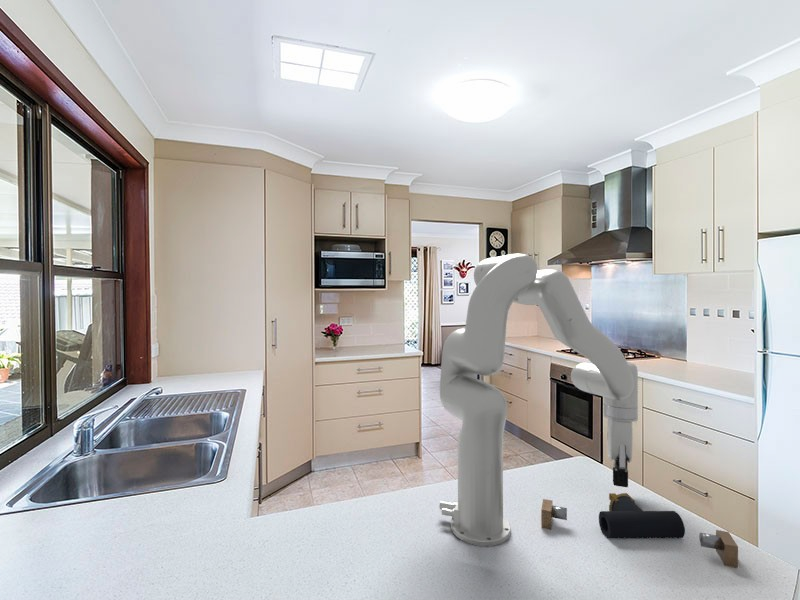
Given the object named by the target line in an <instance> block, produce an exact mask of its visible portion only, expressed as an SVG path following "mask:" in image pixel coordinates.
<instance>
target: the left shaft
mask: <svg viewBox="0 0 800 600" xmlns="http://www.w3.org/2000/svg"><path fill="white" fill-rule="evenodd" d="M553 502H554V501H553V500H551V499H545V498H543V499H542V504H541V509H540V510H541V513H540V514H541V519H540V520H541V521H540V522H541V524H540V525H541V529H544V530H549V531H551V530H552V529H553V528H552V527H553V519H558V520H562V521H567V519H568V508H567V507H564V506H557V505H553Z"/></svg>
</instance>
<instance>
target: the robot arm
mask: <svg viewBox="0 0 800 600" xmlns="http://www.w3.org/2000/svg"><path fill="white" fill-rule="evenodd" d="M473 280H474V283H475V285H476V286H475V288H474V290H473V292H472V293H471V296H470V297H469V301H468V305H467V313H466V320H465V327H463V328H462V327H461V328H458V329H456V330H454V331H452V332H451V333H450V334H449V335H448V336H447V338H446V340H445V341H444V344H443V348H442V353H441V362H440V363H441V365H440V366H441V367H440V379H439V399H440V402H441V405H442V407H443V408H444V409H445V410H446V411H447V412H448V413H449V414H451V415H453V416H454V417H456V418H458V419H460V420H461V422H462V426H461V429H460V433H459V435H458V439H457V454H456V455H457V501H454V502H451V501H448V500H442V499H440V501H439V506H438V507H439V510H441V515H443V516H446V517H447V516H449V517H451V520H450V529H451V532H452V533H453V535H455V537H456V538H458V539H460V540H461V541H463V542H464V543H467V544H470V545H475V546H479V547H480V546H481V547H491V546H498V545H500V544H503V543H505V542H506V541H508V539H509V538H510V537H511V534H512V533H511V531H512V529H511V524H510V521H508V520H507V519H506V518H505V517H504V457H503V456H504V433H505V427H506V421H507V418H508V417H507V416H508V403H507V402H508V401H507V399H506V396H505V395H504V393H503V392H502V391H501V390H500V389H499V388H497V386H495V385H494V384H491V383H489V382H486V381H484V380H481V379H478V375H479V376H484V377H485V376H487V377H489V376H493V375H495V374H497V373H498V372H500V370H501V369H502V368H503V364H504V360H505V359H504V358H505V349H506V335H507V324H508V323H507V322H508V314H509V311H510V309H511V306H512V304H513V303H516V304H520V305H524V306H538V307H539V309H540V311H541V313H542V315H543V317H544V318H545V320H546V322H547V324H548V326H549V328H550V330H551V333H552V334H553V336H554V339H556V340H557V341H558V342H560V343H561V344H562V345H564V346H566V347H567V348H569V349H571V350H574V351H576V352H577V353H579V354H580V355H582V356H583V357H585V358H586V359H587V360H589V361H583V362H580V363H578V364H576V365H575V366H574V367H573V368H572V369H571V373H570V379H571V382H572V384H573V385H574V387H575V388H577V389H578V390H580V391H582V392H585V393H588V394H592V395H597V396H601V397H602V398H603V400H602V401H603V406H602V407H603V409H602V411H603V415H602V416H603V417H604V418H606V419H607V420H606V421H607V423H606V424H607V426H606V430H607V431H606V435H607V436H606V452H607V455H608V456H607V457H608V459H609V461H613V467H612V484H613V485H614V486H616V487H621V488H628V487H629V469H628V463H629V464H630V463H632V461H633V423H634V422H637V421H638V418H639V410H638V409H639V407H638V404H639V403H638V402H639V401H638V396H639V395H638V394H639V393H638V392H639V391H638V388H639V386H638V385H639V384H638V383H639V379H638V378H639V377H638V374H639V373H638V372H639V371H638V367H637V365H636V364H634V363H632V362H631V361H628V360H627V359H626V356H625V355H624V353H623V352H622V351H621V350H620V348H619V346H617V345H616V344H615V343H614V341H612V340H611V339H610V338H609V337H608V336H607V335H606V334H604V333H603V332H602V331H601V330H600V329H599V328H598V327H596V326H595V325H594V324H592V322H591V321H590V319H589V317H588V315H587V313H586V311H585V309H584V307H583V305H582V304H581V302H580V299H579V297H578V294H577V293H576V291H575V289H574V287H573V284H572V283H571V281H570V279H569V277H568V275H567V274H566V273H564V272H563V271H561V270H558V269H552V268H551V269H548V268H547V269H538V264H537V262H536V260H535V258H533V257H532V256H530V255H529V254H525V253H509V254H506V255H505V254H504V255H500V256H493V257H488V258H485V259H483V260H481V261H479V263H477V265H476V267H474V271H473Z"/></svg>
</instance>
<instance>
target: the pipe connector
mask: <svg viewBox="0 0 800 600" xmlns="http://www.w3.org/2000/svg"><path fill="white" fill-rule="evenodd" d="M608 495H609V496H608V500H609V501H610V502H609V504H608V510H600V512H599V514H598V523H599V528H600V532H601V533H602V534H603V535H604V537H605V538H607V539H684V537H685V534H686V528H685V525H684V521H683V519H682V517H681V515H680V514H679V513H678V512H677V511H675V510H643V509H642V508H641V507H640V506H639V505H638V504H637V503H636V502H635V500H634V498H632V497H631V496H630V495H629V493H625V492H623V493H621V492H620V493H618V494H616V493H615V492H614V493H609V494H608Z"/></svg>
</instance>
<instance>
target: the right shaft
mask: <svg viewBox="0 0 800 600" xmlns="http://www.w3.org/2000/svg"><path fill="white" fill-rule="evenodd" d="M698 534H699V536H698V537H699V544H700V547H703V548H708V549H714V550H715V551H716V553H717V554H718V557H719V558H720V560H721V562H722V564H723V565H724V566H725V567H729V568H733V569H739V546H738V544H737V543H736V541H735V540H734V538H733V537H732V535H731V533H730V532H729V531H726V530H718V529H715V534H711V533H705V532H699V533H698Z"/></svg>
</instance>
